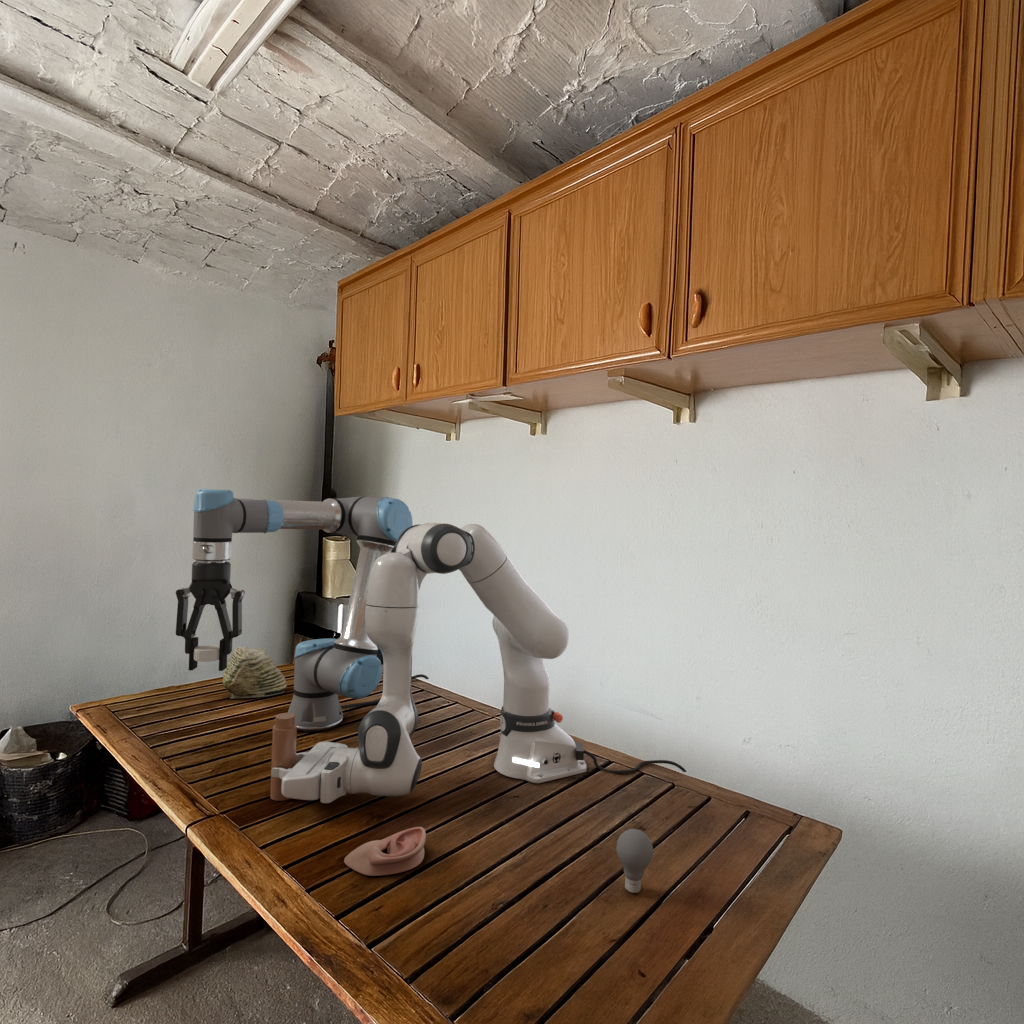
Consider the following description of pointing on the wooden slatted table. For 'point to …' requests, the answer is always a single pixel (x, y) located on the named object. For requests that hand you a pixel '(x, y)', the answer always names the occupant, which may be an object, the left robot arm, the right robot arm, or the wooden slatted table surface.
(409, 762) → the right robot arm
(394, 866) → the anatomical model
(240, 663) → the fossil
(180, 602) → the left robot arm
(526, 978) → the wooden slatted table surface
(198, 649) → the lid
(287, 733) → the brown bottle
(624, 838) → the light bulb
